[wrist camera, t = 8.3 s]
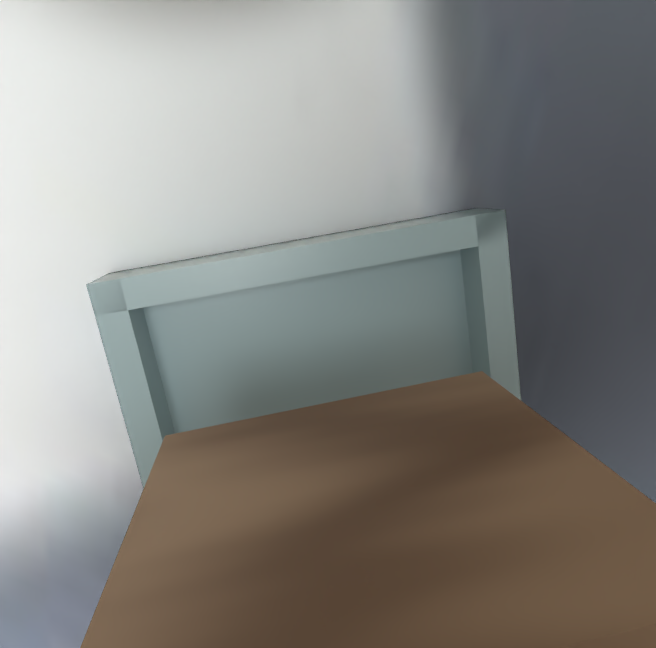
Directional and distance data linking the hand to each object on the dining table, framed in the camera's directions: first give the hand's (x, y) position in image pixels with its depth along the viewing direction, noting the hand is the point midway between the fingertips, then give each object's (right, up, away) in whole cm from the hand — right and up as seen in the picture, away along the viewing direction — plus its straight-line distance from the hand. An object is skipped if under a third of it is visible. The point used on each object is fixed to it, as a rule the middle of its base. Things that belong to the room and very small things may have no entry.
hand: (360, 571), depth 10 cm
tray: (-1, +2, +7) cm, 7 cm away
